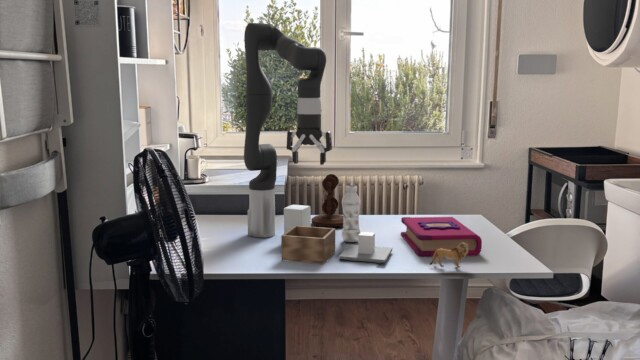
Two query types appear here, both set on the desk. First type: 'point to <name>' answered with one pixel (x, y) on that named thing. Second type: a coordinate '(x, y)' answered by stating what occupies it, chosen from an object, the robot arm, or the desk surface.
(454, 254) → the lion figurine
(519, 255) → the desk surface
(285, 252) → the box
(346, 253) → the lid
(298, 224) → the supplement box
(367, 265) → the desk surface
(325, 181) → the brown wooden sculpture
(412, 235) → the book
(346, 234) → the plastic bottle
